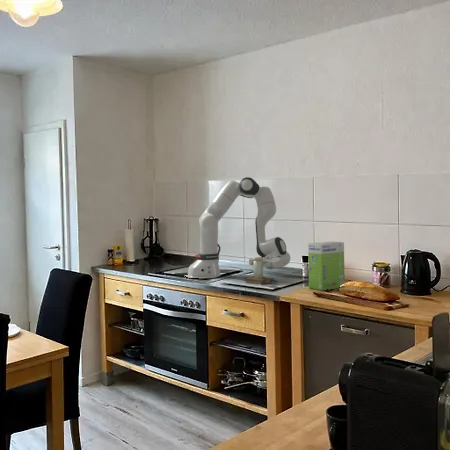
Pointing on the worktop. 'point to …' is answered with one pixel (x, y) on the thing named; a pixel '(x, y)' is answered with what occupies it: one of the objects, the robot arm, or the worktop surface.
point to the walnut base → (258, 280)
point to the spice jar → (258, 267)
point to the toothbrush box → (326, 265)
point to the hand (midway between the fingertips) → (257, 264)
